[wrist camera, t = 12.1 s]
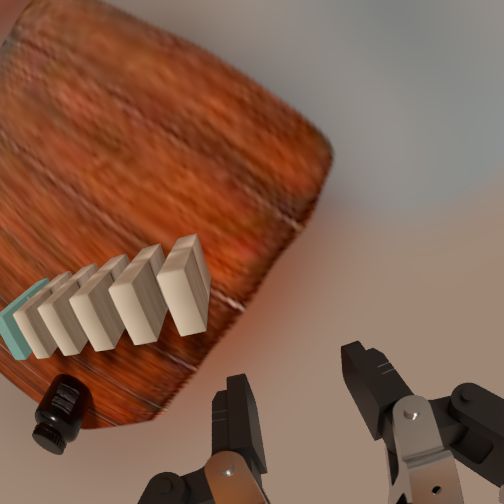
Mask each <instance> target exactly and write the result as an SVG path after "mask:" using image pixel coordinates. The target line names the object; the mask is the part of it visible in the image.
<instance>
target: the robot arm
mask: <svg viewBox="0 0 504 504" xmlns="http://www.w3.org/2000/svg"><path fill="white" fill-rule="evenodd" d="M341 359H342V373H343V378H344V380H345V383H346V386H347V388H348V390H349V391H350V393H351V395H352V397H353V399H354V401H355V403H356V405H357V407H358V409H359V411H360V413H361V414H362V417H363V419H364V421H365V423H366V425H367V427H368V429H369V431H370V433H371V435H372V437H373V438H374V440H378V439H381V438H383V440H384V442H385V444H386V445H385V454H386V462H387V470H388V479H389V497H388V504H464V500H463V495H462V490H461V485H460V481H459V477H458V473H457V468H456V465H455V461H454V458H455V459H457V460H458V461H460V462H461V463H463V464H464V465H465V466H467V467H468V468H470V469H471V470H473V471H474V472H476V473H478V474H479V475H480V476H482V477H483V478H485V479H487V480H488V481H490V482H491V483H493V484H494V485H496V486H497V487H499V488H500V492H499V501H500V502H501V503H503V504H504V399H502V398H501V397H499V396H497V395H495V394H493V393H491V392H490V391H487V390H486V389H484V388H482V387H480V386H478V385H476V384H474V383H463V384H460V385H458V386H457V387H456V388H455V389H454V390H453V392H452V395H451V396H447V397H443V398H439V399H434V400H426V399H425V398H424V397H421V396H418V395H414V394H413V393H412V391H411V390H410V389H409V387H408V386H407V385H406V383H405V382H404V381H403V379H402V378H401V377H400V375H399V374H398V372H397V371H396V370H395V369H394V367H393V366H392V364H391V363H389V361H388V359H387V358H386V357H385V355H384V354H383V353H382V352H379V351H378V350H376V349H375V348H371V349H368V350H365V348H364V347H363V346H362V345H361V343H360V342H359V341H355V342H352V343H350V344H347V345H344V346H341ZM265 473H267V467H266V461H265V455H264V449H263V443H262V436H261V430H260V424H259V418H258V412H257V406H256V402H255V399H254V396H253V393H252V390H251V388H250V385H249V382H248V380H247V377H246V375H245V374H240V375H235V376H230V377H227V390H223V391H218V392H217V393H216V395H215V397H214V399H213V401H212V455H211V457H210V458H209V460H208V461H207V462H206V464H205V466H204V467H202V468H201V469H199V470H197V471H195V472H192V473H189V474H186V475H183V476H180V477H179V476H178V475H177V474H175V473H171V472H163V473H159V474H157V475H155V476H154V477H153V478H152V479H151V480H150V481H149V483H148V485H147V487H146V488H145V490H144V492H143V494H142V496H141V498H140V500H139V502H138V503H137V504H271V502H270V500H269V499H268V497H267V495H266V493H265V491H264V489H263V488H262V480H261V474H265ZM434 493H435V494H436V495H433V494H434Z"/></svg>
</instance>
